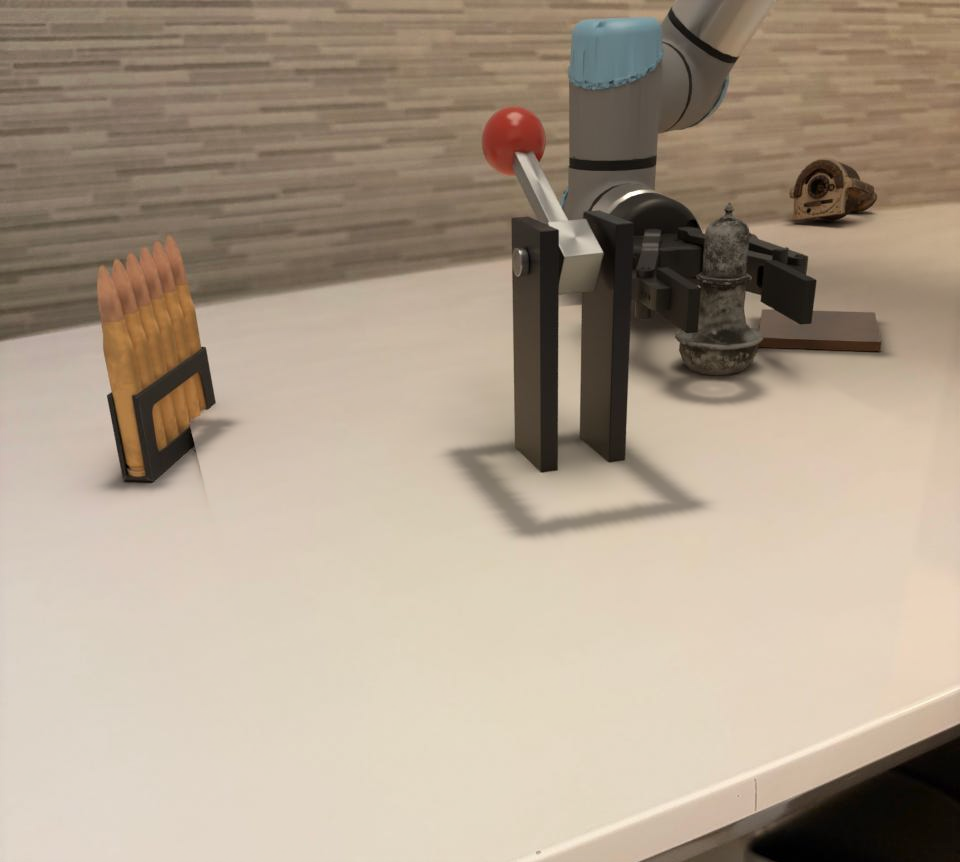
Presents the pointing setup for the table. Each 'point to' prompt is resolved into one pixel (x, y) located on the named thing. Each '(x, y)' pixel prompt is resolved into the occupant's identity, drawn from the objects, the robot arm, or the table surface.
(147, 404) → the ammunition clip
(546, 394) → the bracket
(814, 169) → the mechanical counter
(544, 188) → the lever
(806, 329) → the coaster
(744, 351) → the salt shaker
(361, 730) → the table surface
